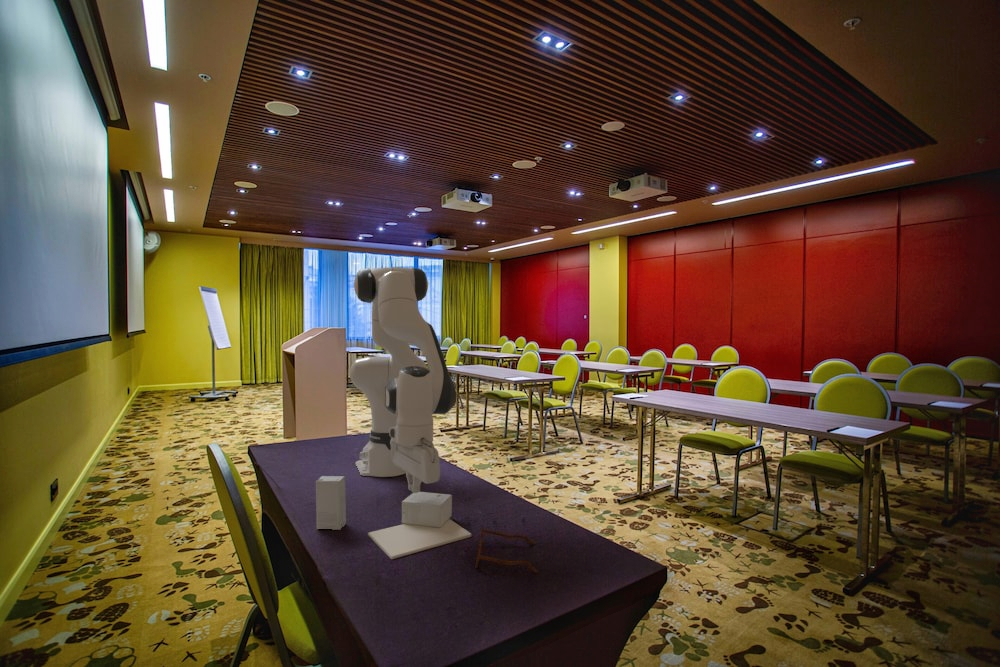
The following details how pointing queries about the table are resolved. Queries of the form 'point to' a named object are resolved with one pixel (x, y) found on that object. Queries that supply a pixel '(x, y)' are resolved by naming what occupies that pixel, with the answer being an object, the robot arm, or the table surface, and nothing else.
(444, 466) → the table surface
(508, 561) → the glasses
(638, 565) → the table surface
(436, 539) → the felt mat
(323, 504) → the skincare box
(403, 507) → the small box
